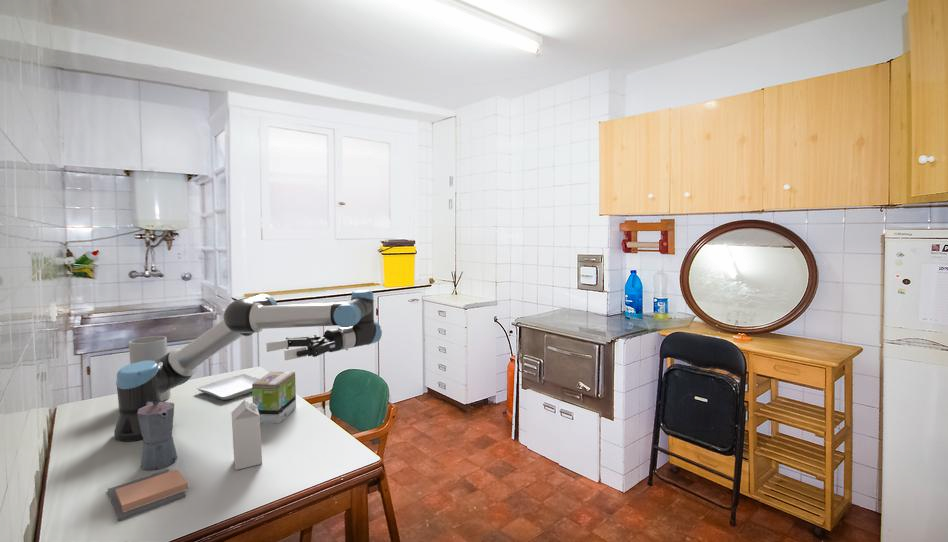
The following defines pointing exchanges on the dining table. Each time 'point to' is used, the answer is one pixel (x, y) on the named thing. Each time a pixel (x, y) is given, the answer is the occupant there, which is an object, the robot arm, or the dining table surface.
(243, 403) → the milk carton
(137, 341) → the cylinder vase
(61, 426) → the dining table surface
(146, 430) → the moka pot
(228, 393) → the salad plate
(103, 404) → the dining table surface
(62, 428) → the dining table surface
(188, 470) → the dining table surface
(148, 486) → the terracotta tile
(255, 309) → the robot arm
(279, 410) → the tea box
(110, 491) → the rubber mat
